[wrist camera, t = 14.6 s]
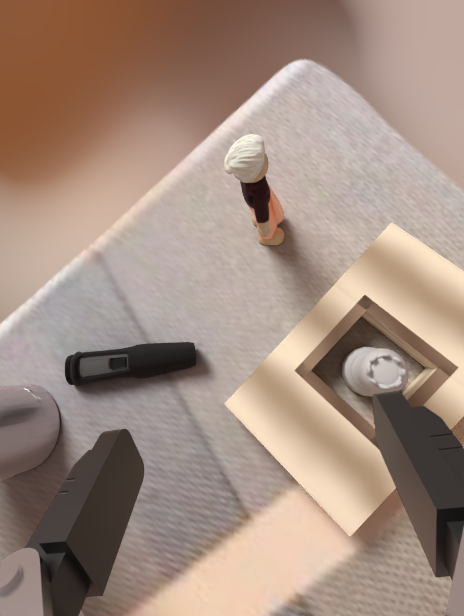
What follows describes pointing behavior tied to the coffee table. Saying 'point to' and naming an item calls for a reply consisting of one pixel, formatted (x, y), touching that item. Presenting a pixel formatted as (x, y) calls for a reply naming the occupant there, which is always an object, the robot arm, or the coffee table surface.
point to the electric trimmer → (129, 362)
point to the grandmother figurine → (256, 186)
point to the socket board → (332, 408)
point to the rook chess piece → (374, 371)
